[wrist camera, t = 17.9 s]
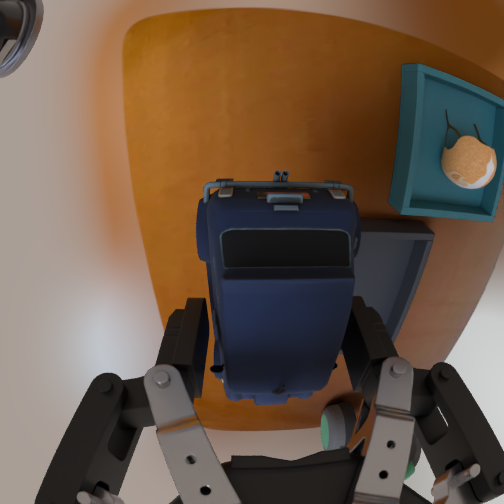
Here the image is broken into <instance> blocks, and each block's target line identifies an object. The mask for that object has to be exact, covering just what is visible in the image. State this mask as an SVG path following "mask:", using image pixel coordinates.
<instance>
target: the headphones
mask: <svg viewBox="0 0 504 504" xmlns="http://www.w3.org/2000/svg"><path fill="white" fill-rule="evenodd" d="M356 420H357V419H356V415H355V412H354V409H353V407H352V405H351V404H350V403H349V402H341V403H338V404H336V405H330V406H328V407H326V408H325V409H324V411H323V413H322V417H321V438H322V444H323V448H324V450H325V451H327V450H334V449H340V448H346V447H347V445H348V443H349V441H350V439H351V437H352V434H353V430H354V427H355V424H356ZM420 454H421V445H420V443H419V441H418V439H417V436H416V434H415V432H414V431H413V437H412V444H411V449H410V455H409V460H408V465H407V470H406V474H405V478H404V480H406V479H407V478H409V477H410V476H411V475H412V474H413V473H414V471H415V466H416V465H417V463H418V461H419V458H420Z"/></svg>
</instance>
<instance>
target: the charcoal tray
mask: <svg viewBox="0 0 504 504" xmlns="http://www.w3.org/2000/svg"><path fill="white" fill-rule="evenodd" d="M360 222H361V241H360V247H359V251H358V254H357V255H356V257H355V258H354V276H355V286H354V293H353V296H361V297H362V298H363V300H364V302H365V304H366V307H371V306H372V307H373V308H374V309H375V310H376V311H377V312H378V313H379V314H380V316H381V318H382V320H383V324H384V325H385V327H386V329H387V331H388V333H389V336H390V338H391V340H392V342H393V344H394V342H395V339H396V337H397V335H398V333H399V331H400V329H401V326H402V324H403V322H404V320H405V317H406V315H407V313H408V310H409V308H410V305H411V303H412V300H413V298H414V295H415V293H416V290H417V288H418V285H419V282H420V279H421V277H422V274H423V271H424V268H425V265H426V262H427V259H428V256H429V253H430V250H431V247H432V243H433V240H434V236H435V233H434V232H432V231H431V230H430V229H429V228H428V227H427V226H426V225H425V224H424V223H423V222H421V221H403V220H382V219H360ZM338 354H343V351H342V348H340V350H339V353H338Z"/></svg>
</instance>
